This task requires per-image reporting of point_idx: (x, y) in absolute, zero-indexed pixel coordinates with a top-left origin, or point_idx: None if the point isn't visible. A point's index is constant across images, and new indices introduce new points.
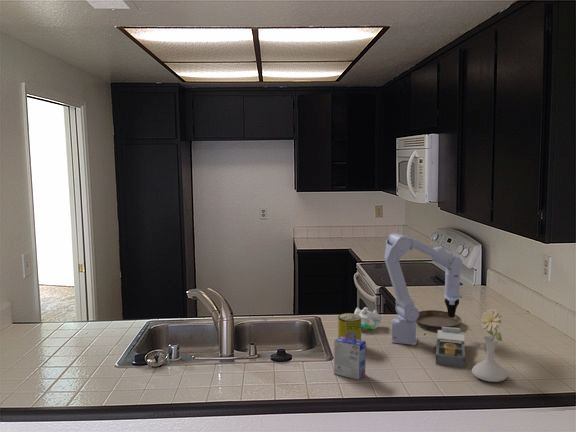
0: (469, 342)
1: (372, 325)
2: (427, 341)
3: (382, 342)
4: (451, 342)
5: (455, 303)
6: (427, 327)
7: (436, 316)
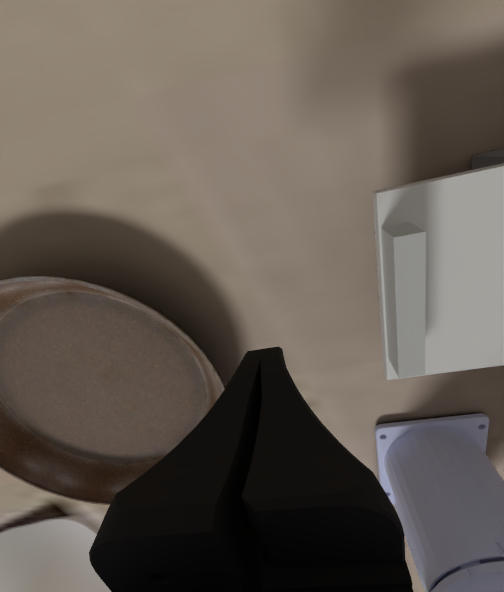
0: (321, 143)
1: None
2: None
3: None
4: None
5: (396, 532)
6: None
7: (5, 409)
